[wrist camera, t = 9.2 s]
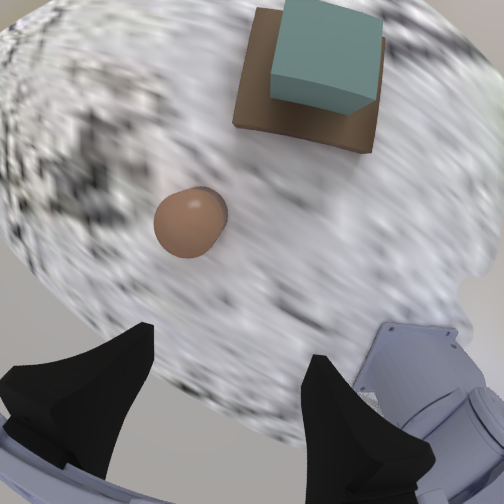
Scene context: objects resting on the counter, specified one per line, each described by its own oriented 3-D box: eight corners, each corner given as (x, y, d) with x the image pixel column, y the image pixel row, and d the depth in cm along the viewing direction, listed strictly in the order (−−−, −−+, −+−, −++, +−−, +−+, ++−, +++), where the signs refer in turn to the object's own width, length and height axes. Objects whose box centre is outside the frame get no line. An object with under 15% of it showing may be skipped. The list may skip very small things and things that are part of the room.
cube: (356, 50, 14) (382, 20, 9) (347, 115, 16) (375, 100, 11) (282, 32, 14) (286, -6, 9) (270, 97, 16) (270, 73, 11)
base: (375, 47, 15) (385, 37, 14) (362, 153, 18) (371, 153, 16) (257, 19, 15) (256, 7, 14) (235, 127, 18) (232, 123, 16)
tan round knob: (232, 191, 20) (223, 197, 16) (223, 245, 21) (213, 264, 17) (177, 182, 20) (157, 187, 16) (171, 235, 21) (151, 251, 17)
